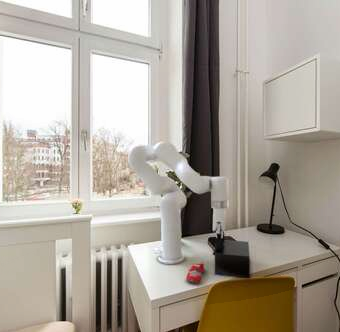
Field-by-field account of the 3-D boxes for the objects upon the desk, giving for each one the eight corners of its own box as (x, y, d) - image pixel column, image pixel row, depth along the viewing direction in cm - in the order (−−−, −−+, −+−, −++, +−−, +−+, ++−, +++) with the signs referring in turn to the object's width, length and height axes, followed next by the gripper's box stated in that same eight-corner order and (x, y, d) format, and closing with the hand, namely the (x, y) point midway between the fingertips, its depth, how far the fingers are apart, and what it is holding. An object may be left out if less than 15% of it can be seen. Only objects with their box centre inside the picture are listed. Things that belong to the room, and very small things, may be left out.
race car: (198, 286, 80) (198, 275, 80) (184, 283, 82) (184, 273, 82) (206, 270, 93) (206, 260, 93) (194, 268, 94) (194, 259, 94)
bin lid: (212, 255, 89) (212, 241, 89) (217, 241, 106) (217, 229, 106) (249, 258, 85) (249, 244, 85) (248, 243, 102) (248, 231, 102)
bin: (215, 274, 88) (214, 255, 89) (219, 257, 106) (219, 241, 106) (249, 278, 85) (249, 258, 85) (248, 260, 102) (248, 243, 102)
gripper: (213, 201, 106) (214, 238, 106) (208, 207, 90) (209, 251, 89) (229, 201, 104) (230, 239, 104) (227, 208, 88) (227, 253, 88)
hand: (220, 244), depth 97 cm, fingers open, 5 cm apart
